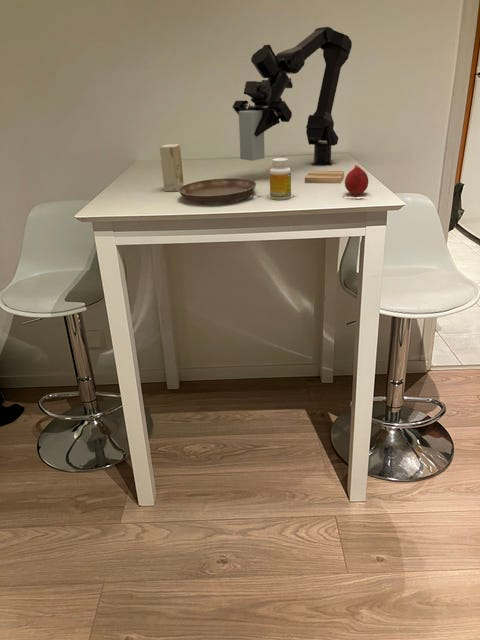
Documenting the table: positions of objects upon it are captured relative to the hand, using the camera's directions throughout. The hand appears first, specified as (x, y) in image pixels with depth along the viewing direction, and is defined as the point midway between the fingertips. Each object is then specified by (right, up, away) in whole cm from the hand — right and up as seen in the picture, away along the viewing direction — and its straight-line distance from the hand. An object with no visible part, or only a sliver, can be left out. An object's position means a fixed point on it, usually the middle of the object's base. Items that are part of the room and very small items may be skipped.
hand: (248, 135), depth 149 cm
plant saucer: (-8, -20, -9) cm, 24 cm away
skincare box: (-21, -15, +3) cm, 26 cm away
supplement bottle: (+8, -21, -13) cm, 26 cm away
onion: (+27, -22, -16) cm, 38 cm away
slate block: (+1, -5, +4) cm, 7 cm away
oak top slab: (+22, -12, +1) cm, 25 cm away
